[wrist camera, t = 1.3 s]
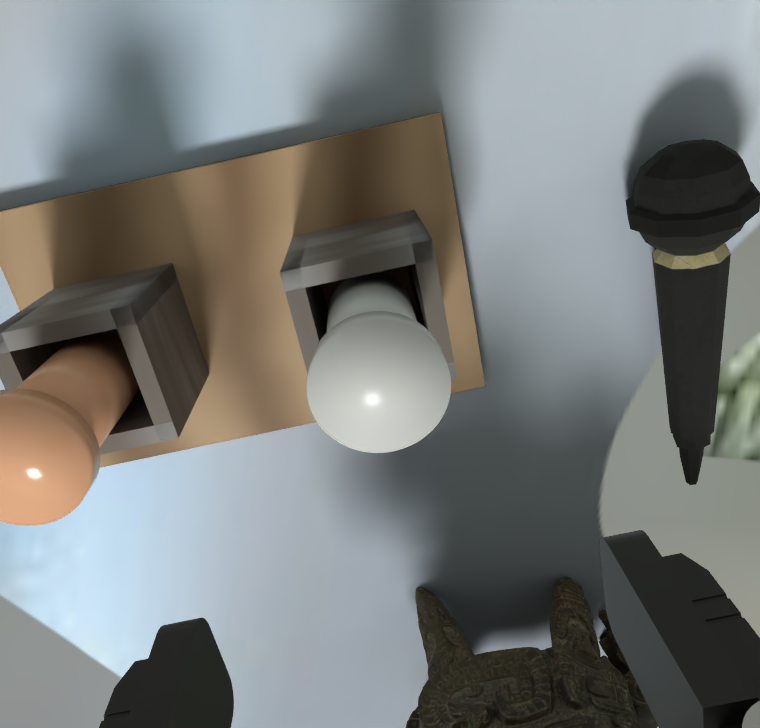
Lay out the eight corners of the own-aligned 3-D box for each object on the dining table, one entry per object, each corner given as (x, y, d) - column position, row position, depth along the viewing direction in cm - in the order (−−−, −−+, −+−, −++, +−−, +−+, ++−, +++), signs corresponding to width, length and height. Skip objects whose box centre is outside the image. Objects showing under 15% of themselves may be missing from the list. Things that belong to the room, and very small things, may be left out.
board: (438, 112, 31) (467, 118, 24) (481, 379, 37) (516, 451, 29) (-11, 213, 32) (-118, 249, 25) (95, 460, 37) (34, 551, 30)
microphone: (691, 439, 43) (688, 119, 33) (769, 488, 38) (794, 130, 28) (621, 475, 41) (597, 154, 32) (692, 530, 36) (690, 172, 27)
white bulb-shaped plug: (412, 249, 28) (437, 306, 20) (432, 350, 29) (461, 437, 22) (304, 273, 28) (290, 338, 20) (330, 372, 30) (325, 465, 22)
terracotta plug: (133, 310, 28) (57, 388, 21) (168, 406, 30) (110, 509, 22) (28, 333, 28) (-85, 418, 21) (69, 427, 30) (-21, 537, 23)
